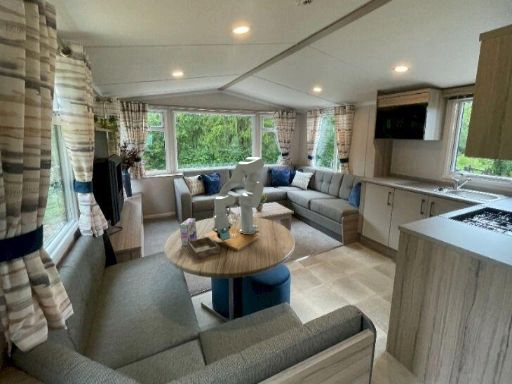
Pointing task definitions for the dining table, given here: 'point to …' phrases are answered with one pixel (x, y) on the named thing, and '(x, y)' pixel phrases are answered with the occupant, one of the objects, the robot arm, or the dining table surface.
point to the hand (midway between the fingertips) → (223, 236)
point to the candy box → (188, 231)
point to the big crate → (203, 247)
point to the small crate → (224, 234)
